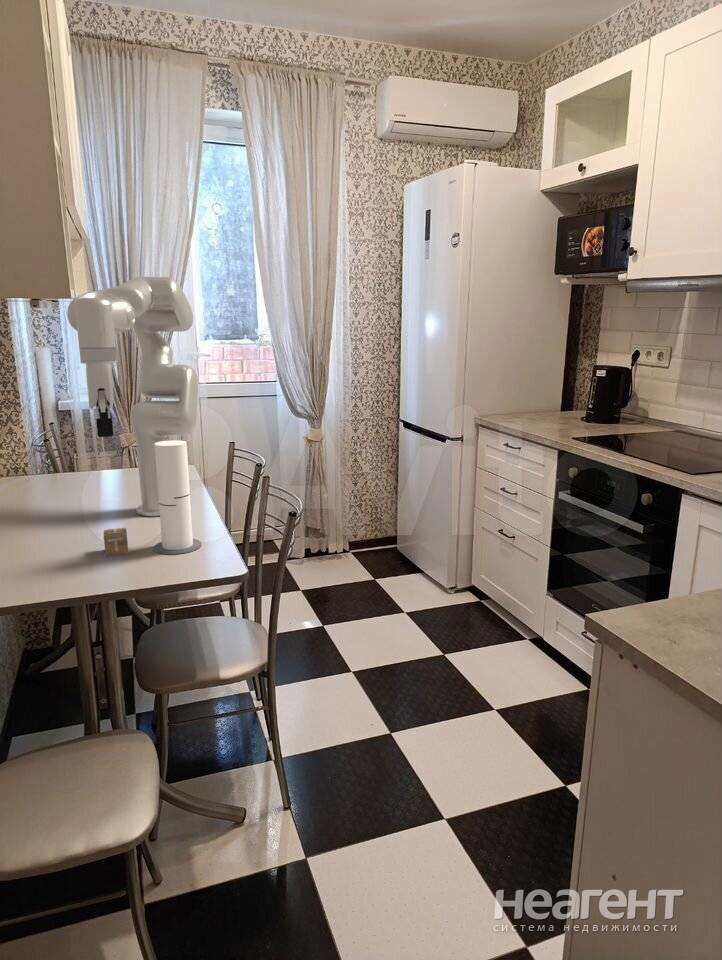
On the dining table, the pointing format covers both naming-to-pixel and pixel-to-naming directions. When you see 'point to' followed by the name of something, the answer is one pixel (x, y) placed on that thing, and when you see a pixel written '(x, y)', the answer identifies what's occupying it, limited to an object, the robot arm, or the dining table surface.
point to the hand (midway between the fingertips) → (105, 433)
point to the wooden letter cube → (115, 541)
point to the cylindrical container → (174, 494)
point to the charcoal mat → (161, 550)
